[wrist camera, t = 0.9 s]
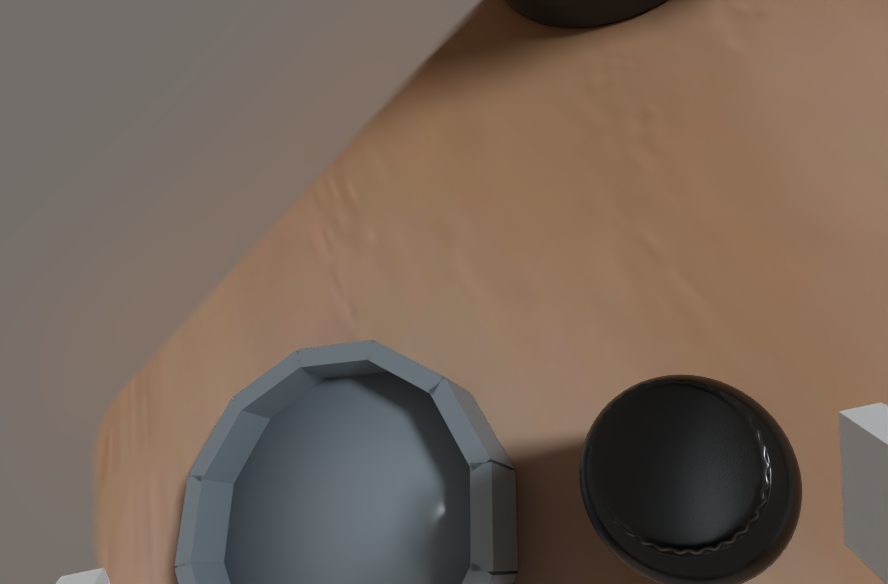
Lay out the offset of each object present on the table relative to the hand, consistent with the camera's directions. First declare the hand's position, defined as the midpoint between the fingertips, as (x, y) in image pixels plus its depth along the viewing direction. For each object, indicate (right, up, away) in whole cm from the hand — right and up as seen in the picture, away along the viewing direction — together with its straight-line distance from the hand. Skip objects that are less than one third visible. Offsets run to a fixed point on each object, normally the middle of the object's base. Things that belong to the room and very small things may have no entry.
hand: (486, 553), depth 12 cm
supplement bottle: (+10, -4, +17) cm, 20 cm away
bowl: (-5, -7, +23) cm, 24 cm away
